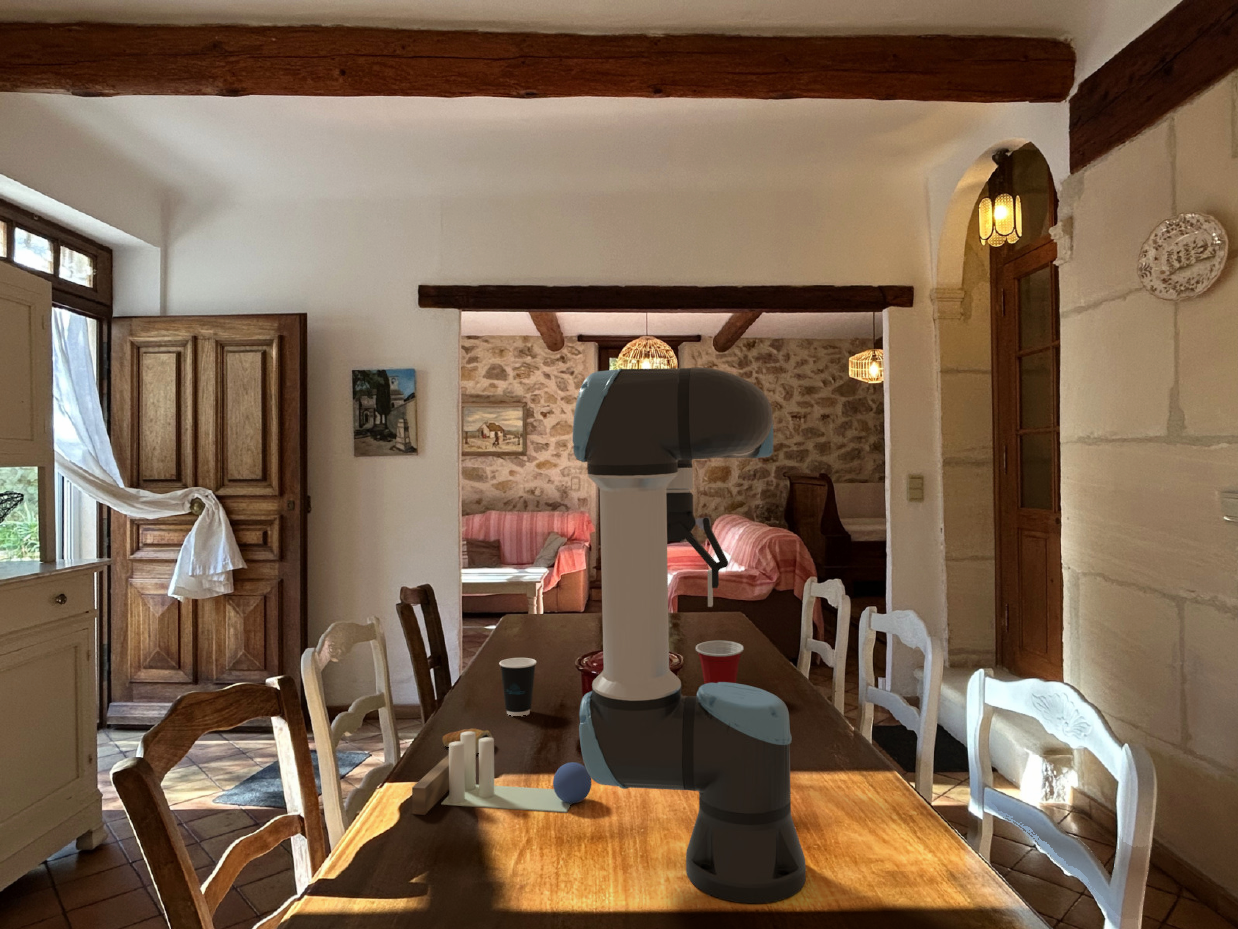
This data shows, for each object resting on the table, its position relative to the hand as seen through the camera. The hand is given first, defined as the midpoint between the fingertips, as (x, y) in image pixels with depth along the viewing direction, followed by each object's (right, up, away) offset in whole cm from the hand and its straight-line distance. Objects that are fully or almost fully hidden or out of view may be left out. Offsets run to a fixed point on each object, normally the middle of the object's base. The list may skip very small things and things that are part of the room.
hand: (673, 605), depth 152 cm
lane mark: (-27, -27, -23) cm, 45 cm away
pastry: (-39, -27, 0) cm, 47 cm away
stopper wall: (-39, -27, -21) cm, 52 cm away
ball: (-18, -23, -25) cm, 38 cm away
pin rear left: (-35, -27, -19) cm, 48 cm away
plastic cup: (+12, -27, +31) cm, 43 cm away
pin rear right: (-36, -27, -24) cm, 51 cm away
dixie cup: (-32, -27, +22) cm, 47 cm away
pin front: (-31, -27, -23) cm, 47 cm away
